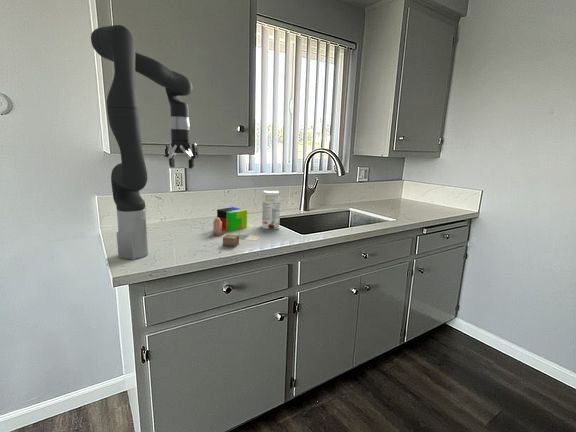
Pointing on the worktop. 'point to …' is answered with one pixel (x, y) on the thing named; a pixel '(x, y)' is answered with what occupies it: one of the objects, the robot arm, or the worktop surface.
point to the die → (230, 240)
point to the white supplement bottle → (271, 209)
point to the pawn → (217, 227)
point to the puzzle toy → (232, 218)
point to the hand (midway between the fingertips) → (181, 167)
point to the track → (240, 236)
